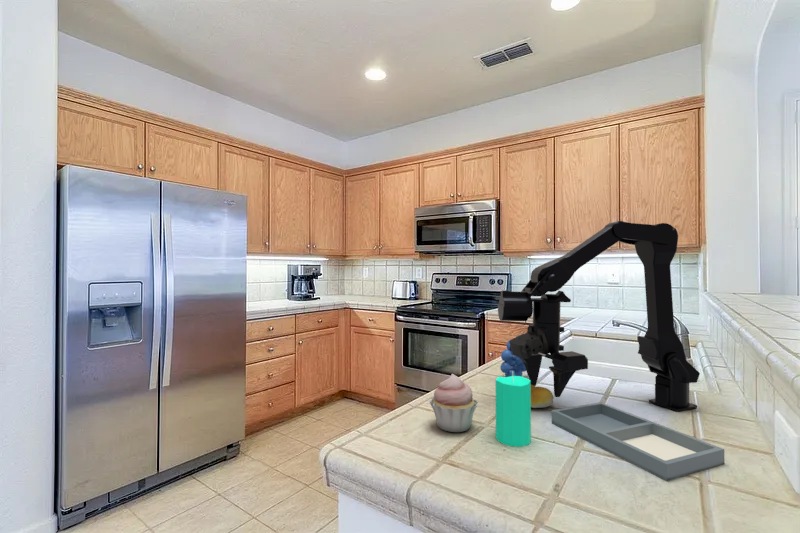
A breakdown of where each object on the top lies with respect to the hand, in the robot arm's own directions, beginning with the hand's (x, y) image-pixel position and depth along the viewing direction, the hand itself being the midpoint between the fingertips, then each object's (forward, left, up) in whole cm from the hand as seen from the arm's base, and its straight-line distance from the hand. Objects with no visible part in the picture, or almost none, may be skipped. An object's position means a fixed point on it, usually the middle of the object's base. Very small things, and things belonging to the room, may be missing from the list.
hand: (544, 391), depth 86 cm
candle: (+18, +12, -3) cm, 22 cm away
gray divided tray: (0, +20, -3) cm, 21 cm away
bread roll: (0, +1, -3) cm, 3 cm away
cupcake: (+25, +3, -3) cm, 25 cm away
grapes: (-6, -19, -3) cm, 20 cm away
